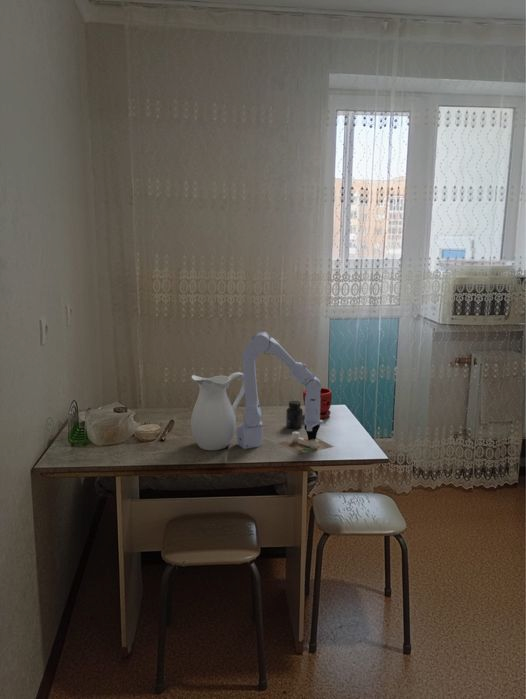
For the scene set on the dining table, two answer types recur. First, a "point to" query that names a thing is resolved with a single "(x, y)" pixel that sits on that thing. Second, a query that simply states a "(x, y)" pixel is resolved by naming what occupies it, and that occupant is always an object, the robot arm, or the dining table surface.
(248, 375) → the robot arm
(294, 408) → the supplement bottle
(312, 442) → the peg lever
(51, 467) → the dining table surface
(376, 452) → the dining table surface
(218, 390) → the pitcher
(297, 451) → the brown wooden board
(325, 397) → the plant pot
